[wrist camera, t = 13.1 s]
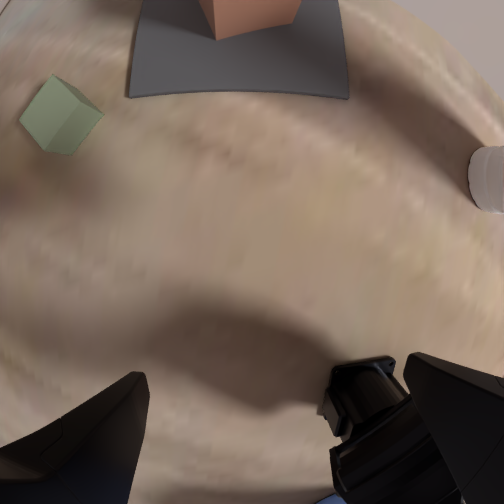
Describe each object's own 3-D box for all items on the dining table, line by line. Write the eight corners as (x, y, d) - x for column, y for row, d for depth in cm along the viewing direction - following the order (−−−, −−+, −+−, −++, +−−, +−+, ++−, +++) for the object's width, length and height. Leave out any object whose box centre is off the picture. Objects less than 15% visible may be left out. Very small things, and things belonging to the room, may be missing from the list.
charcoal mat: (328, -38, 16) (329, -41, 15) (347, 99, 19) (349, 98, 19) (155, -41, 15) (154, -44, 14) (130, 98, 18) (128, 96, 17)
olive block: (104, 115, 18) (80, 102, 14) (72, 155, 18) (44, 151, 15) (77, 88, 17) (52, 74, 13) (46, 127, 18) (18, 119, 14)
